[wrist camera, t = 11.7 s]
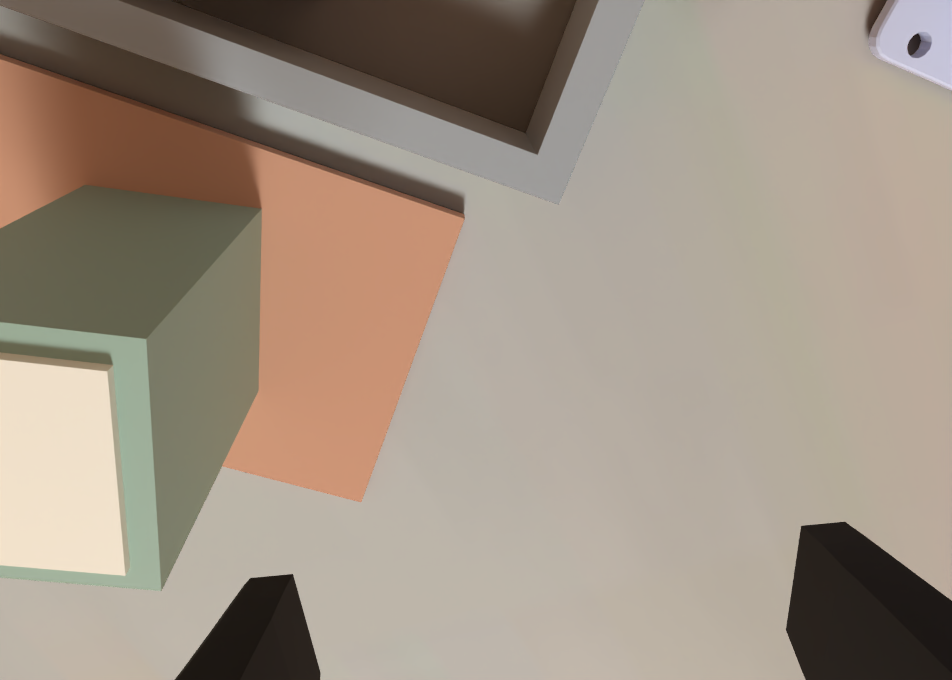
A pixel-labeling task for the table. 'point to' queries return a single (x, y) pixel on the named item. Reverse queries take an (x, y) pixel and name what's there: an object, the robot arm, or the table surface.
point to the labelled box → (120, 378)
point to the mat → (282, 261)
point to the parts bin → (378, 84)
